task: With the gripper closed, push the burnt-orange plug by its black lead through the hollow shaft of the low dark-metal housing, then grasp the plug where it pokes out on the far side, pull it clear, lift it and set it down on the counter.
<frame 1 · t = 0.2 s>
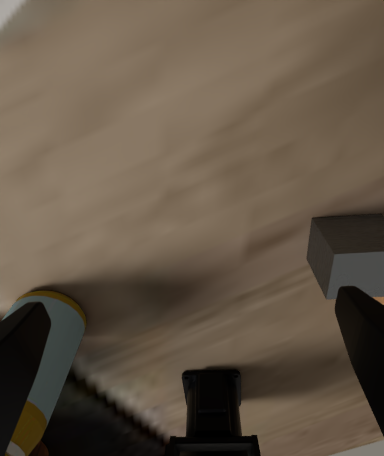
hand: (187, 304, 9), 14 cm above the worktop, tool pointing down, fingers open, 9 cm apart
bottle: (53, 311, 31), on the worktop
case: (4, 443, 45), on the worktop
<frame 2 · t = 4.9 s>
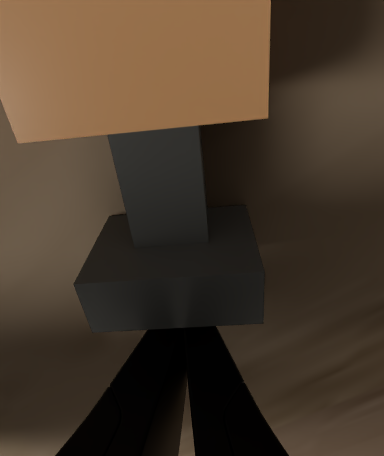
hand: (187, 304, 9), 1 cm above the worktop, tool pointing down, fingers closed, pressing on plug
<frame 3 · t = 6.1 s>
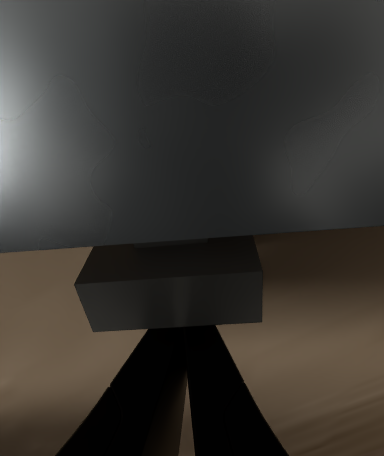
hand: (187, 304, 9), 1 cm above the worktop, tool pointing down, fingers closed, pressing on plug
housing: (152, 49, 7), on the worktop
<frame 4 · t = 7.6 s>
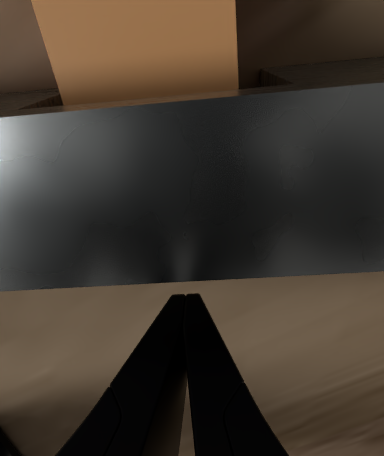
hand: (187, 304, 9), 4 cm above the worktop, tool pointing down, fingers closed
housing: (176, 142, 10), on the worktop
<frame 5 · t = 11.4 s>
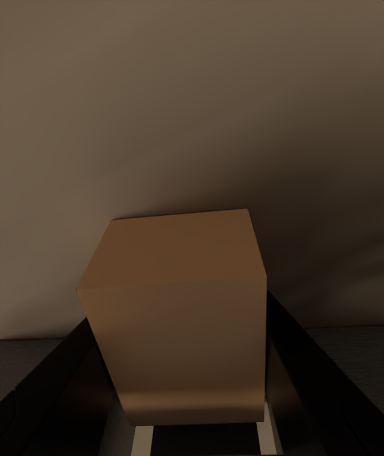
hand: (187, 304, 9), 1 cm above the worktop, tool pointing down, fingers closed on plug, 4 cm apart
housing: (198, 366, 13), on the worktop
plug: (188, 286, 10), on the worktop, touching gripper
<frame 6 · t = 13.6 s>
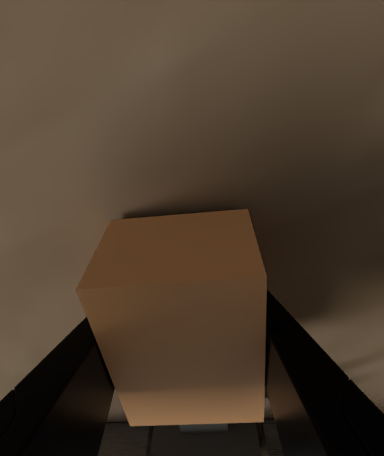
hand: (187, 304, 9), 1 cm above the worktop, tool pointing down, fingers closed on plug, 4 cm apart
housing: (208, 441, 16), on the worktop
plug: (188, 286, 10), on the worktop, touching gripper
when the fingers open (2 cm above the worktop, at t = 16.2 s): plug drops 2 cm, on the worktop.
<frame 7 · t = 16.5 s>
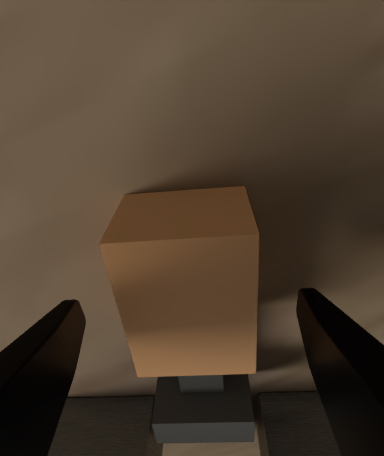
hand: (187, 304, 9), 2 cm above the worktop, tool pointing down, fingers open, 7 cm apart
housing: (208, 415, 17), on the worktop
plug: (191, 257, 12), on the worktop
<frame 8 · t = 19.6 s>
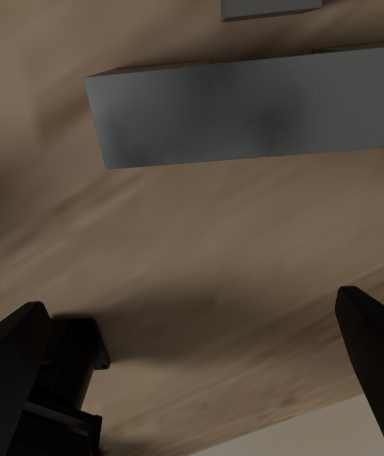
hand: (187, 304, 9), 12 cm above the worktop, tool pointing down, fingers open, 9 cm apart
housing: (258, 94, 17), on the worktop
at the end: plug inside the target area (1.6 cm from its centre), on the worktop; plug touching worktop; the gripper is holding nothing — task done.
